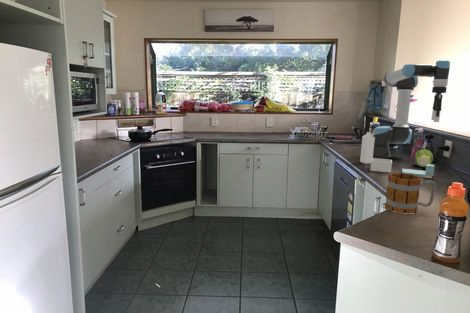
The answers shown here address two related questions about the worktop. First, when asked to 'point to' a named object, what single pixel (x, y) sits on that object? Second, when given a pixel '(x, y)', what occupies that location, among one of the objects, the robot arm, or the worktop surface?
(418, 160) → the lettuce
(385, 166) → the tub
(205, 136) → the worktop surface
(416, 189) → the mug
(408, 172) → the lid
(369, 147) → the milk
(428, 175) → the board
